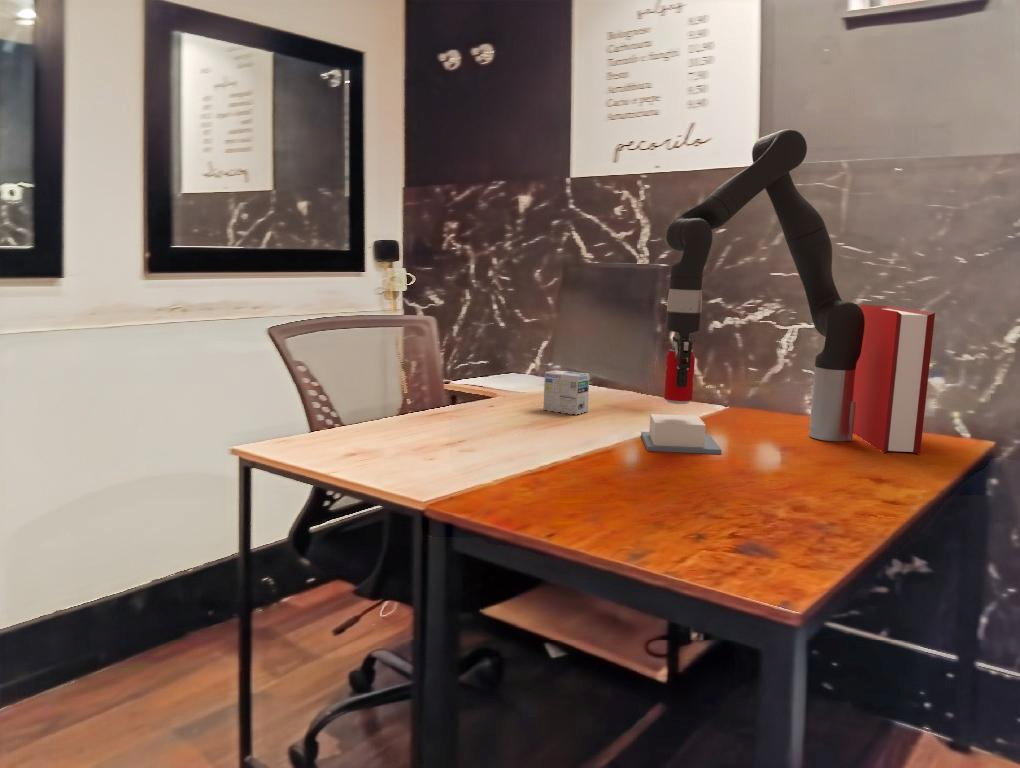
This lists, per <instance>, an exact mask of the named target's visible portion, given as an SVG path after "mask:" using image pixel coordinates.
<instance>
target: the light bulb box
mask: <svg viewBox="0 0 1020 768" xmlns="http://www.w3.org/2000/svg"><path fill="white" fill-rule="evenodd" d="M589 388H590V373H583V372H575V371H565V370H564V371H562V370H556V369H555V370H550V371H546V372H544V387H543V389H544V390H543V411H544V410H547V411H546V412H551V411H554V412H553V413H558V412H561V414H565V413H568V414H567V415H572V414H575V415H574V416H578V415H577V414H579V415H581V413H582V414H585V413H584V412H586V413H589V396H590V395H589V393H590V389H589Z"/></svg>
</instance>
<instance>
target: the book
mask: <svg viewBox="0 0 1020 768" xmlns="http://www.w3.org/2000/svg"><path fill="white" fill-rule="evenodd" d="M859 307H860V308H861V309H862V311H863V314H864V319H865V327H864V335H863V342H862V349H861V354H860V357H859V359H858V361H857V363H856V372H855V381H854V382H855V383H854V393H853V401H855V403H856V405H855V415H854V426H853V433H854V434H853V435H855V434H856V435H857V436H856V435H855V436H856V437H858V436H859V437H861V438H862V439H863V440H862V439H861V438H860V439H861V440H862V441H864V440H865V441H867V442H868V443H870V444H871V445H873V446H874V447H876V448H877V449H879V450H881V451H882V452H885V453H887V452H902V453H903V452H904V453H905V452H906V453H907V452H909V453H914V454H916V453H919V454H920V455H921V449H922V441H923V431H924V421H925V412H926V411H925V410H926V403H927V402H926V401H927V395H928V394H927V392H928V383H929V372H930V364H931V356H932V346H933V335H934V327H935V317H936V312H933V311H926V310H919V309H913V308H908V307H907V308H906V307H901V306H894V305H893V306H892V305H880V304H879V305H875V304H874V305H873V304H872V305H871V304H860V305H859ZM859 437H858V438H859ZM865 441H864V442H865ZM867 442H866V443H867ZM868 443H867V444H868ZM870 444H869V445H870ZM871 445H870V446H871ZM873 446H872V447H873ZM874 447H873V448H874ZM876 448H875V449H876ZM877 449H876V450H877ZM879 450H878V451H879ZM882 452H881V453H882Z"/></svg>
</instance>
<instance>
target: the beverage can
mask: <svg viewBox="0 0 1020 768" xmlns="http://www.w3.org/2000/svg"><path fill="white" fill-rule="evenodd" d="M678 355H679V351H678ZM681 363H686V360H684V359H682V361H681ZM695 363H696V357H695V354H694V350H693V349H692V351H691V362H690V365H691V367H690V368H689V370H688V373H687V386H686V387H678V386H677V385H676V380H677V360H676V359H675V350H673V348H669V349H668V352H667V354H666V363H665V377H664V378H665V379H664V380H665V381H664V397H663V398H664V400H665V401H666V402H667V403H670V404H674V405H675V404H676V405H686V404H689V403H690V402H691V403H692V401H693V393H694V392H693V391H694V378H695V377H694V376H695Z"/></svg>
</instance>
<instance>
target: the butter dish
mask: <svg viewBox="0 0 1020 768" xmlns="http://www.w3.org/2000/svg"><path fill="white" fill-rule="evenodd" d="M706 426H707V425H706V424H705V422H704V421H703V420H702V419H701V418H700V417H699V415H687V414H686V415H685V414H684V415H683V414H682V415H681V414H680V415H679V414H663V413H662V414H659V413H658V414H657V413H650V415H649V430H648V431H640V432H641V433H640V436H641V438H642V439H641V440H642V441H643V443H644V446H645V448H646V451H648V452H661V453H662V452H665V453H681V454H683V453H685V454H686V453H689V454H705V455H706V454H709V455H722V448H721V447H720V446H719V445H718V444H717V442H716V441H715V440H714V439H713V438H712V436H711V435H710V434H708V433H706V431H707V430H706V428H707V427H706Z"/></svg>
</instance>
